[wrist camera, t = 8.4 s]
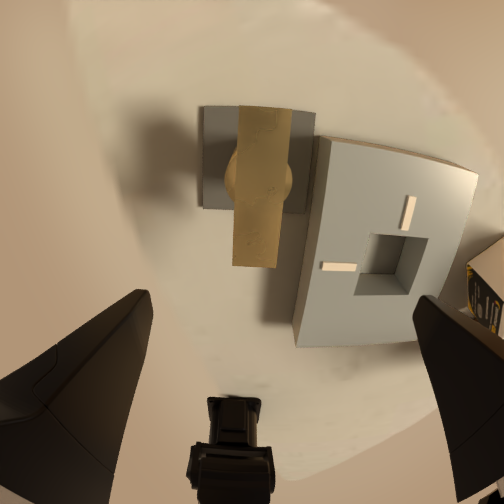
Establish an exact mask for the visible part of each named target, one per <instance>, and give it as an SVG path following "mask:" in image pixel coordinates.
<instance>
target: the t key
mask: <svg viewBox="0 0 504 504" xmlns="http://www.w3.org/2000/svg"><path fill="white" fill-rule="evenodd" d="M291 117H292V109H284V108H272V107H259V106H239V118H238V136H237V146H236V147H235V149H234V151H233V154H232V156H231V159H230V161H229V164H228V166H227V169H226V172H225V178H224V180H225V188H226V191H227V193H228V195H229V197H230V198H231V200H232V201H233V202H234V230H233V261H232V266H246V267H267V268H276V264H277V256H278V247H279V239H280V230H281V221H282V211H283V202H284V200H285V199H286V198H287V196H288V195H289V193H290V190H291V187H292V173H291V169H290V167H289V165H288V163H287V162H288V151H289V140H290V129H291Z"/></svg>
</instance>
